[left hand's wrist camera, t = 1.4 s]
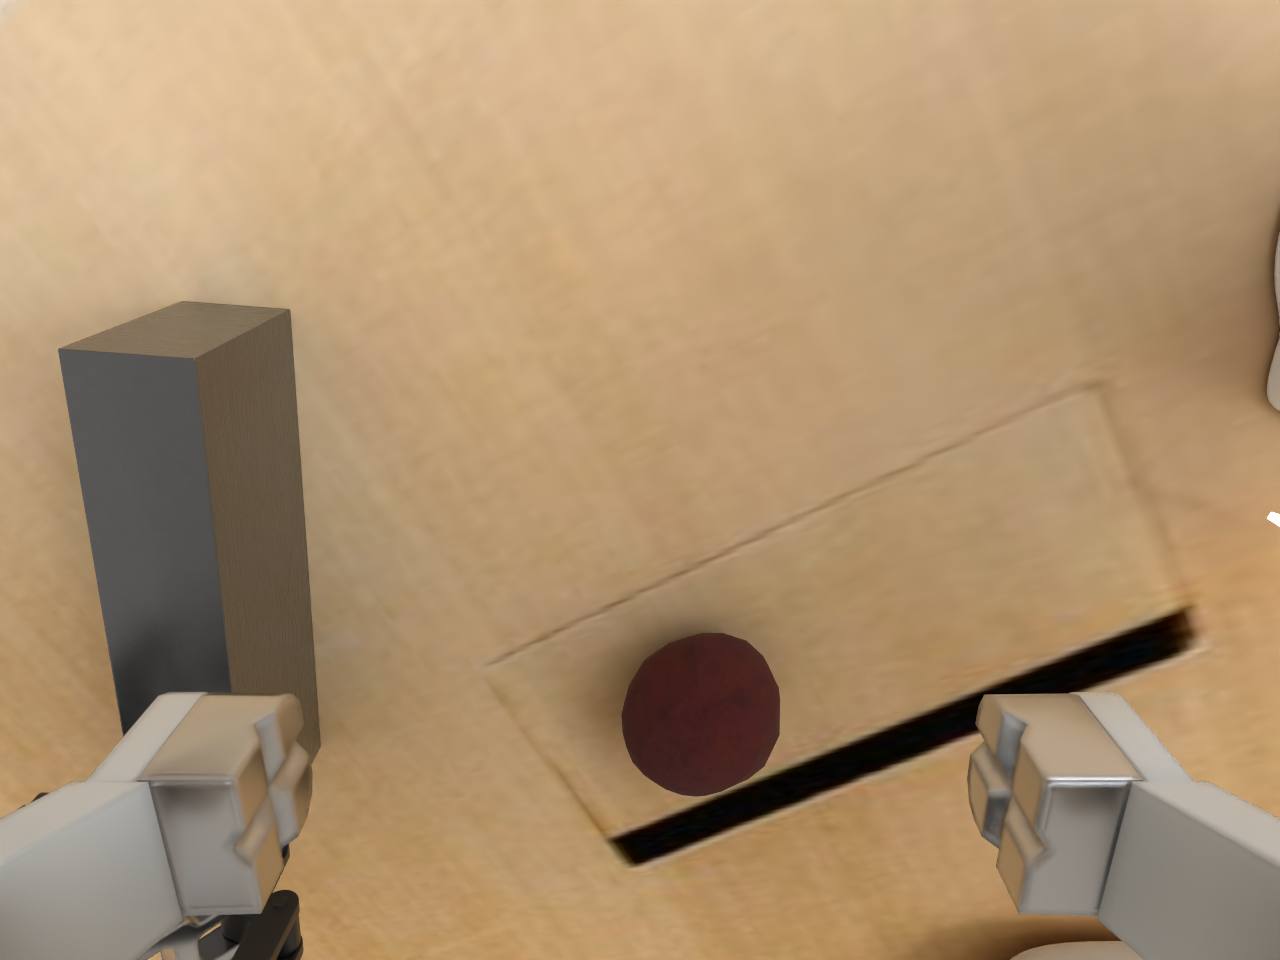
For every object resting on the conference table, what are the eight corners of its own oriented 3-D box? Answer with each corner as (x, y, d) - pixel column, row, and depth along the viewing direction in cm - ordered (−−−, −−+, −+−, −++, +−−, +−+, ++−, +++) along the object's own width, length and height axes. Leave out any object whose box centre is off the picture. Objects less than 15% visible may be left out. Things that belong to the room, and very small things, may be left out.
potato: (597, 690, 46) (588, 785, 39) (682, 577, 43) (688, 658, 37) (715, 755, 47) (726, 857, 41) (804, 649, 45) (831, 739, 38)
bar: (182, 301, 39) (57, 348, 31) (290, 309, 39) (195, 358, 31) (232, 741, 47) (145, 870, 39) (320, 746, 47) (252, 877, 39)
